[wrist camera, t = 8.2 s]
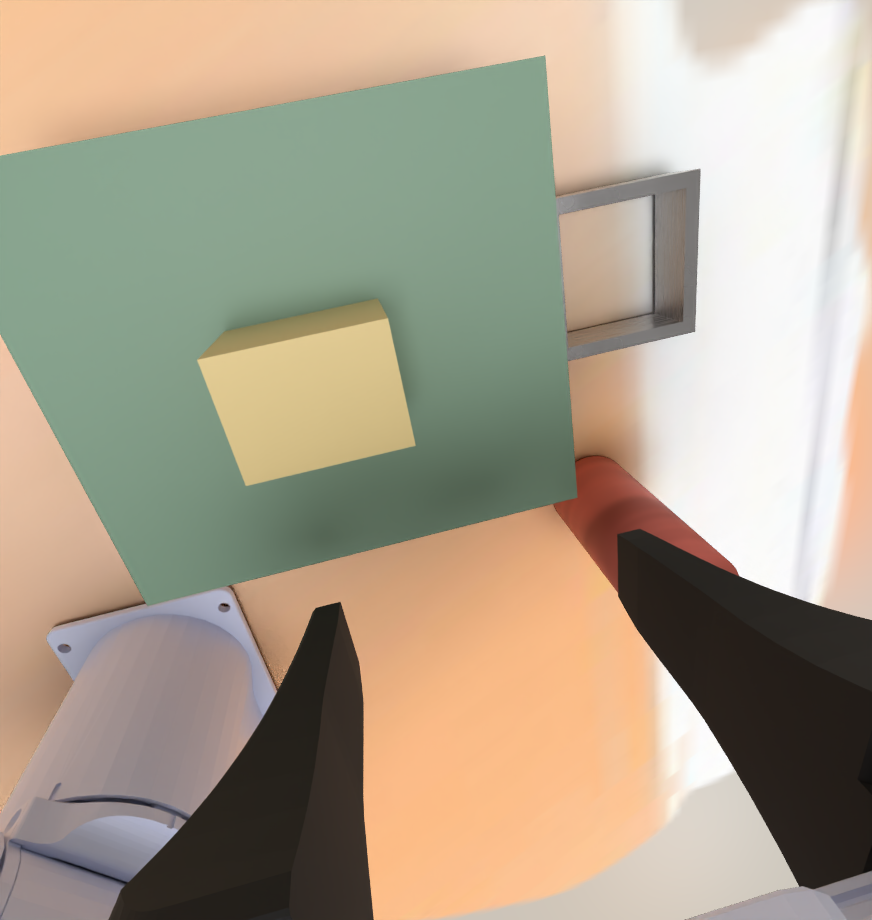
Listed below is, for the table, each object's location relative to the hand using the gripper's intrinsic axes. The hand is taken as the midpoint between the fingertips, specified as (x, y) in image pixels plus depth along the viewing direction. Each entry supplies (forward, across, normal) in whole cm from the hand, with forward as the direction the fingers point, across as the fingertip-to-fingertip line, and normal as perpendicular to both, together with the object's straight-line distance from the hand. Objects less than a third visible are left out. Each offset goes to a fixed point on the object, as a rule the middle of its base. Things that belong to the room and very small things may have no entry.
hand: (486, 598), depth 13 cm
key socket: (+10, -8, -6) cm, 14 cm away
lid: (+5, +3, -6) cm, 8 cm away
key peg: (+10, -7, +4) cm, 13 cm away
